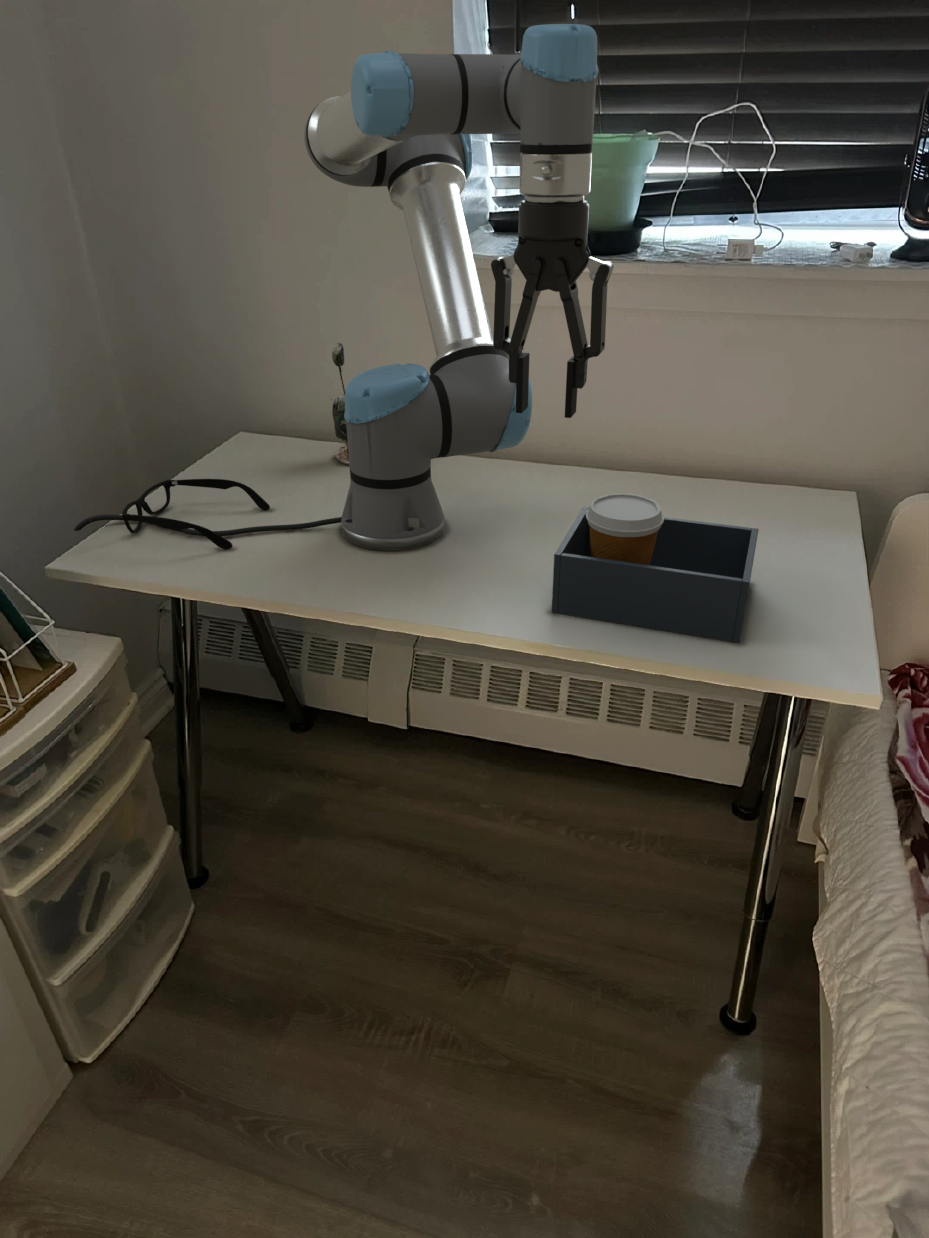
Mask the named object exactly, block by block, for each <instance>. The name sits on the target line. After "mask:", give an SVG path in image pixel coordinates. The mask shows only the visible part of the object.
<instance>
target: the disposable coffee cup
mask: <svg viewBox="0 0 929 1238" xmlns="http://www.w3.org/2000/svg"><path fill="white" fill-rule="evenodd" d="M664 517H665V516H664V514H663V513H662V507H661V505H660V503H659V502H657V501H656V500H655V499H652V498H650V497H647V496H644V495H641V494H636V493H635V494H634V493H621V492H619V493H609V494H608V493H607V494H603V495H600V496H597V497H596V498H594V499H593V500H592V501H591V502H590V504H589V509H588V510H587V512H586V519H587V520H588V524H589V530H590V543H591V557H594V558H601V559H608V560H615V561H622V562H629V563H636V564H643V565H650V562H651V558H652V554H653V550H654V546H655V542H656V538H657V534H658V530H659V529H660V527H661V525H662V524H663V522H664Z"/></svg>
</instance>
